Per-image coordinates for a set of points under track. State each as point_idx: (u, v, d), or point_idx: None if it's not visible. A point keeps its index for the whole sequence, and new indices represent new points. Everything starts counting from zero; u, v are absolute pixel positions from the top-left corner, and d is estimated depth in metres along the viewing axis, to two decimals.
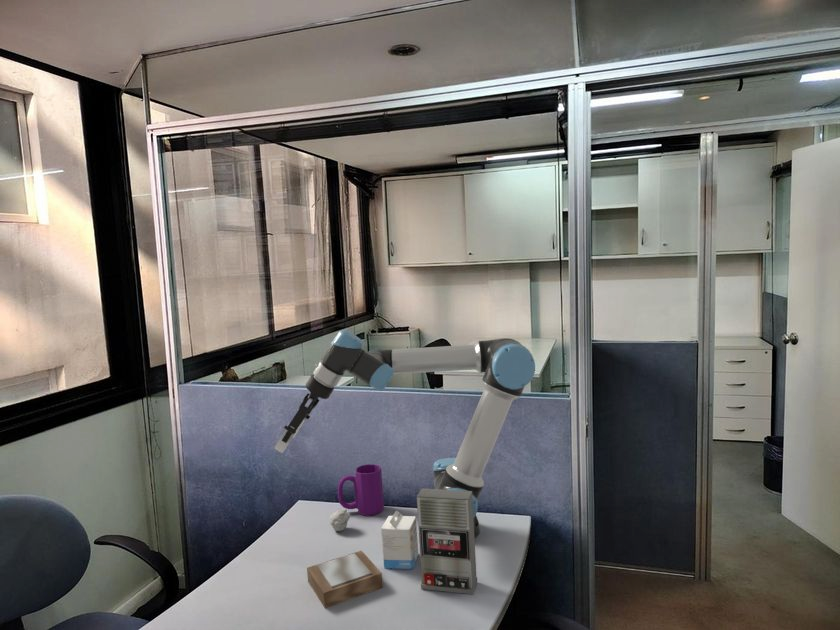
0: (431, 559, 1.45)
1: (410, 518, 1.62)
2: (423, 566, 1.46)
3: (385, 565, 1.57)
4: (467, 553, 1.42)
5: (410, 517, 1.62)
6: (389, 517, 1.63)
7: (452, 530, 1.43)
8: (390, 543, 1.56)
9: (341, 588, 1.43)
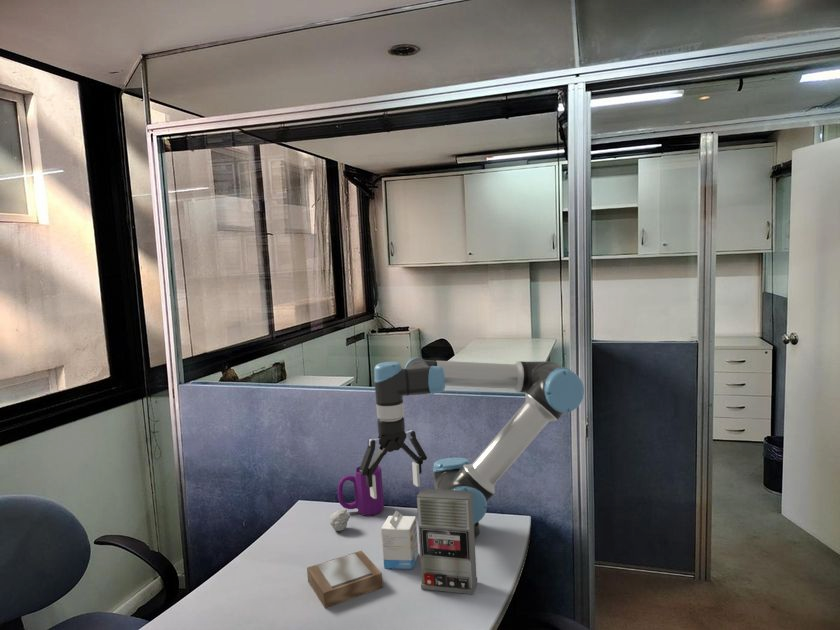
0: (431, 559, 1.45)
1: (410, 518, 1.62)
2: (423, 566, 1.46)
3: (385, 565, 1.57)
4: (467, 553, 1.42)
5: (410, 517, 1.62)
6: (389, 517, 1.63)
7: (452, 530, 1.43)
8: (390, 543, 1.56)
9: (341, 588, 1.43)
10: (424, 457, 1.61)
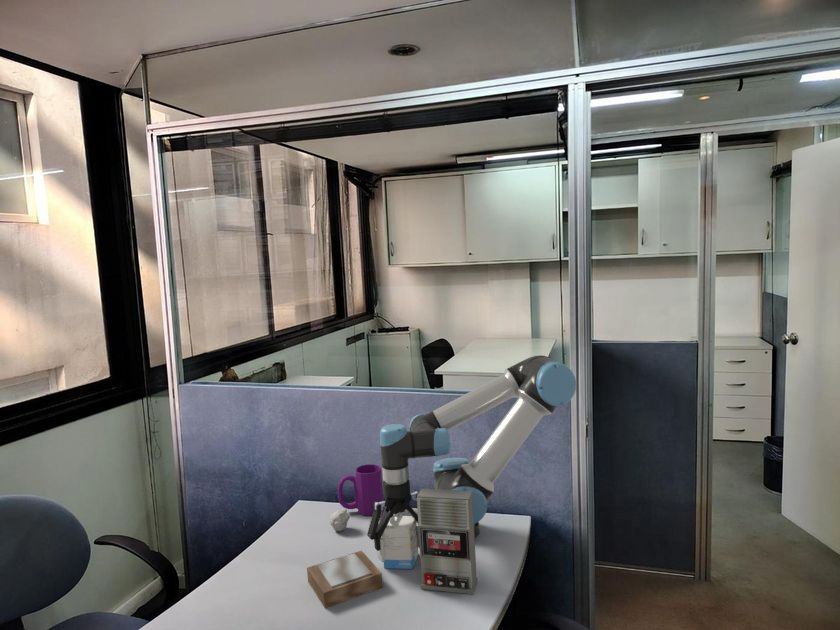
0: (431, 559, 1.45)
1: (410, 518, 1.62)
2: (423, 566, 1.46)
3: (385, 565, 1.57)
4: (467, 553, 1.42)
5: (410, 517, 1.62)
6: None
7: (452, 530, 1.43)
8: (390, 542, 1.56)
9: (341, 588, 1.43)
10: None
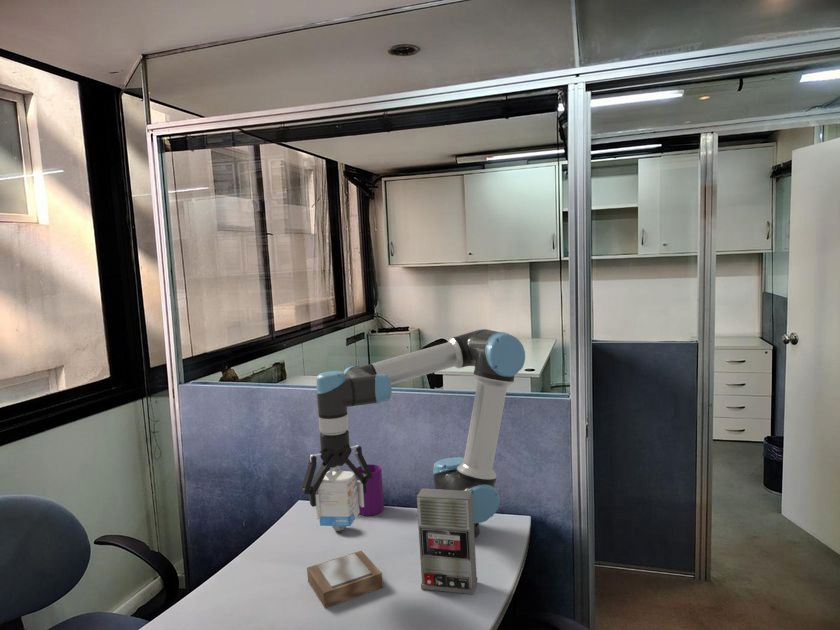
0: (431, 559, 1.45)
1: (350, 473, 1.50)
2: (423, 566, 1.46)
3: (321, 522, 1.46)
4: (467, 553, 1.42)
5: (350, 472, 1.51)
6: (328, 472, 1.52)
7: (452, 530, 1.43)
8: (326, 498, 1.45)
9: (341, 588, 1.43)
10: (369, 475, 1.51)
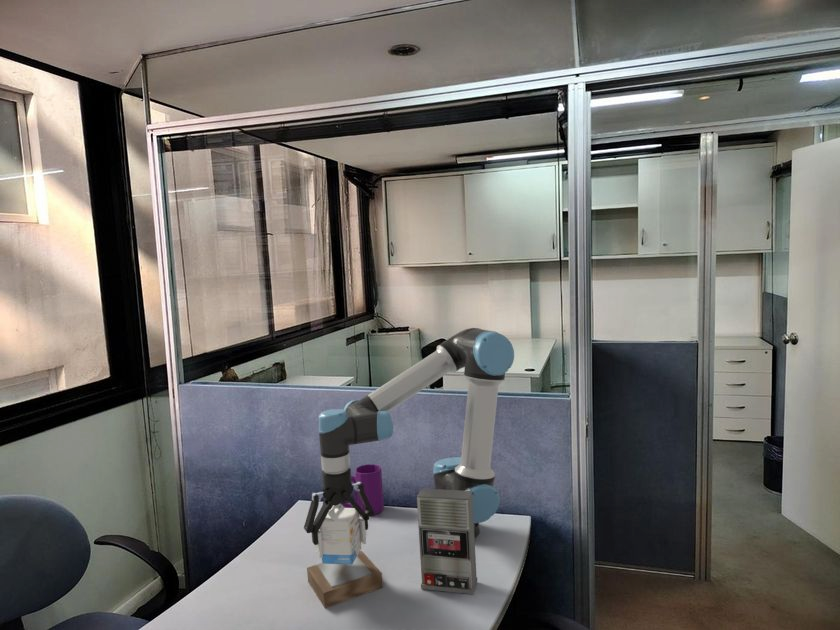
0: (431, 559, 1.45)
1: (352, 510, 1.51)
2: (423, 566, 1.46)
3: (323, 560, 1.46)
4: (467, 553, 1.42)
5: (352, 509, 1.51)
6: None
7: (452, 530, 1.43)
8: (328, 536, 1.45)
9: (341, 588, 1.43)
10: (371, 512, 1.52)
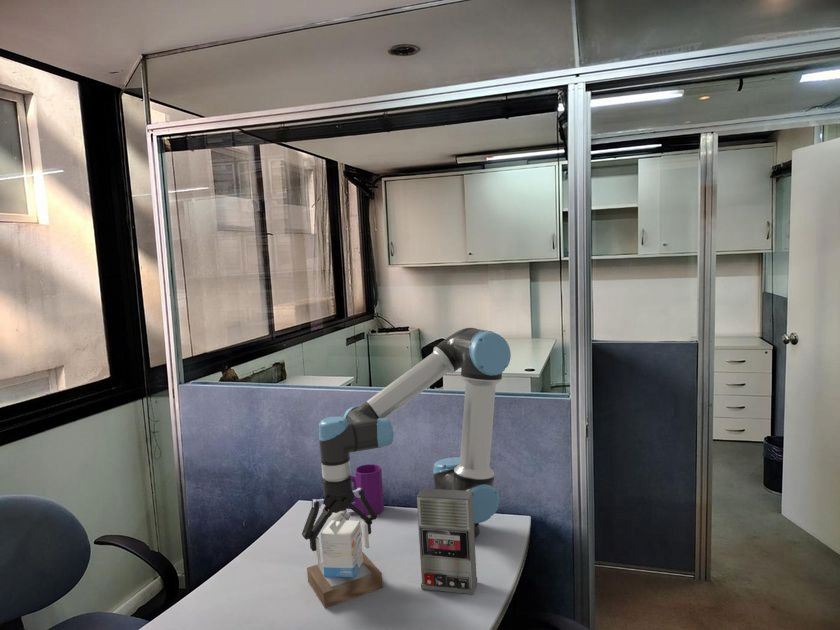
0: (431, 559, 1.45)
1: (353, 523, 1.51)
2: (423, 566, 1.46)
3: (325, 573, 1.47)
4: (467, 553, 1.42)
5: (354, 522, 1.52)
6: (331, 522, 1.53)
7: (452, 530, 1.43)
8: (330, 549, 1.46)
9: (341, 588, 1.43)
10: (374, 516, 1.52)
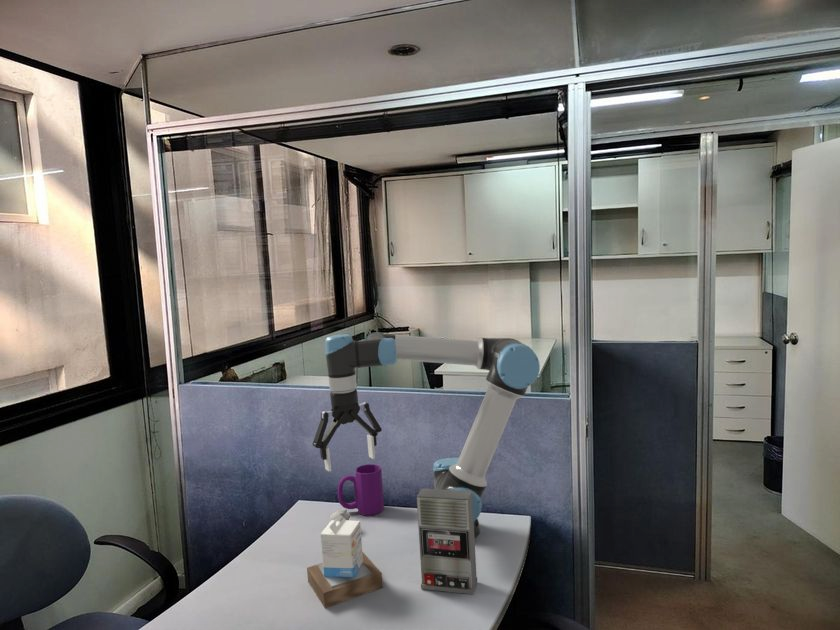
0: (431, 559, 1.45)
1: (353, 523, 1.51)
2: (423, 566, 1.46)
3: (325, 573, 1.47)
4: (467, 553, 1.42)
5: (354, 522, 1.52)
6: (331, 522, 1.53)
7: (452, 530, 1.43)
8: (330, 549, 1.46)
9: (341, 588, 1.43)
10: (379, 429, 1.62)
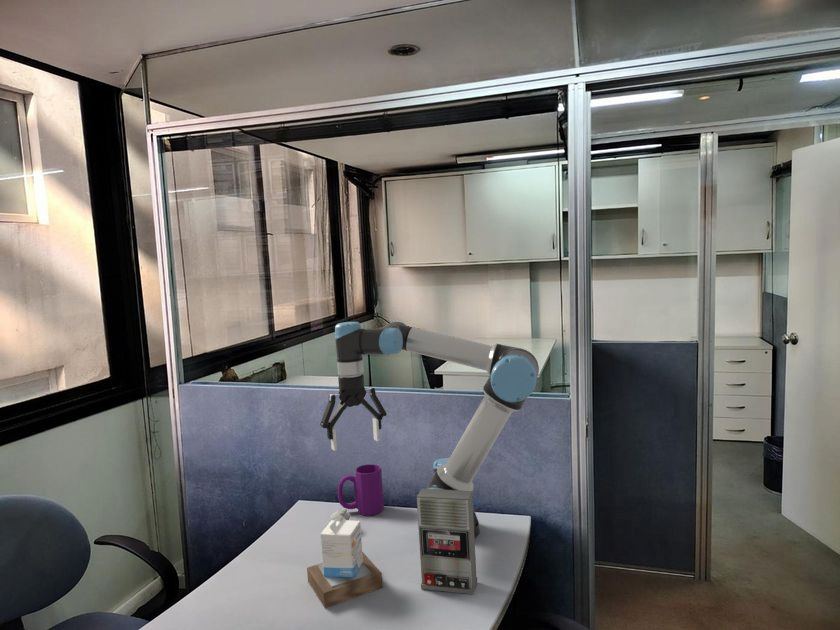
0: (431, 559, 1.45)
1: (353, 523, 1.51)
2: (423, 566, 1.46)
3: (325, 573, 1.47)
4: (467, 553, 1.42)
5: (354, 522, 1.52)
6: (331, 522, 1.53)
7: (452, 530, 1.43)
8: (330, 549, 1.46)
9: (341, 588, 1.43)
10: (384, 413, 1.70)
